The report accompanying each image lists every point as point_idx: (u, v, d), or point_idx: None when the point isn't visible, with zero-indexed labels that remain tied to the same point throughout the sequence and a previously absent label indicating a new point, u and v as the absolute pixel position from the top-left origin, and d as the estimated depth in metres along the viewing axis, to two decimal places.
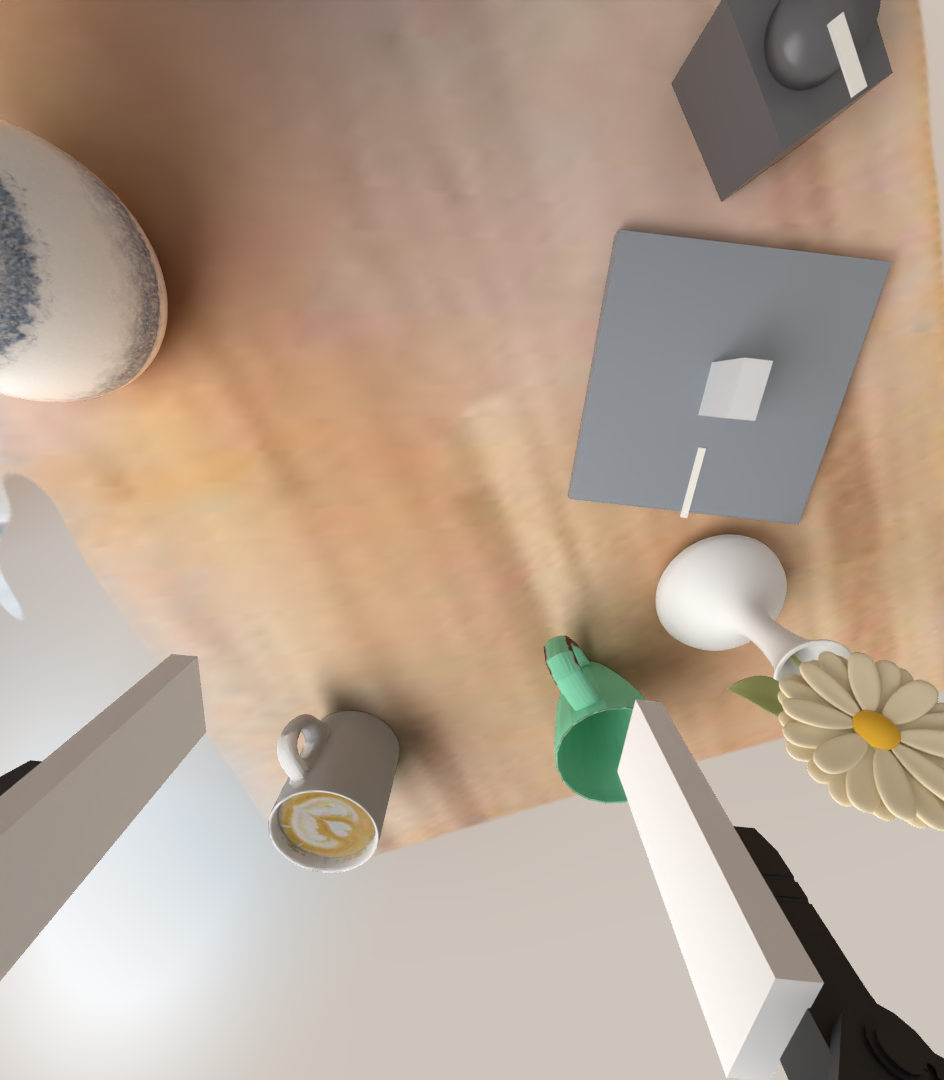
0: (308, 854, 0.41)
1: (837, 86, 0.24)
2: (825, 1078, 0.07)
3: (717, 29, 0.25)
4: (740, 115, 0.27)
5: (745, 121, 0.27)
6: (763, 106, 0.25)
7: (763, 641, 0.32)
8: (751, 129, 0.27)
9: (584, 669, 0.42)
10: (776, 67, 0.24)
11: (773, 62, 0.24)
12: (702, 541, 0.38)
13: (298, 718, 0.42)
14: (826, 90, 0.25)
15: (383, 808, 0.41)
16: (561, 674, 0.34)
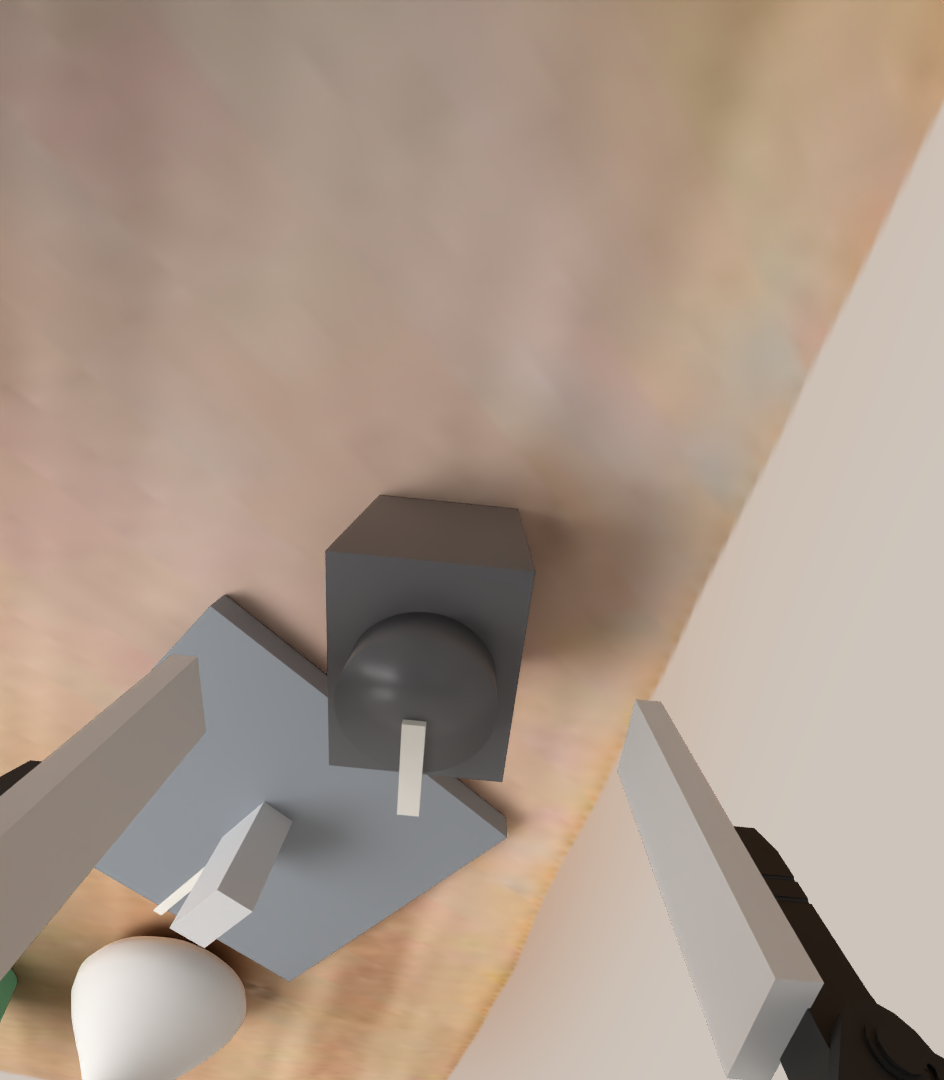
0: None
1: None
2: (825, 1078, 0.07)
3: None
4: None
5: None
6: None
7: None
8: None
9: None
10: None
11: None
12: (161, 949, 0.28)
13: None
14: None
15: None
16: None
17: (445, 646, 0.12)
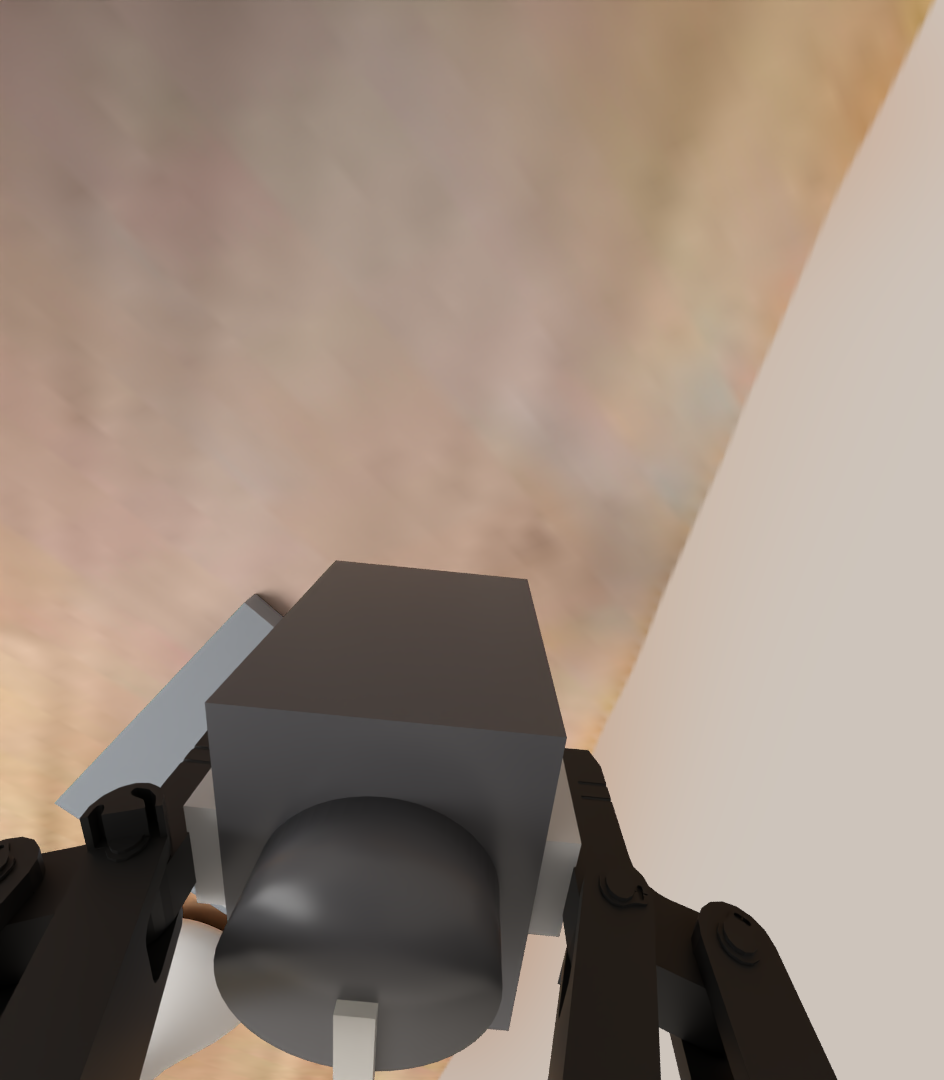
0: None
1: None
2: None
3: None
4: None
5: None
6: None
7: None
8: None
9: None
10: None
11: None
12: (181, 928, 0.30)
13: None
14: None
15: None
16: None
17: (409, 894, 0.07)
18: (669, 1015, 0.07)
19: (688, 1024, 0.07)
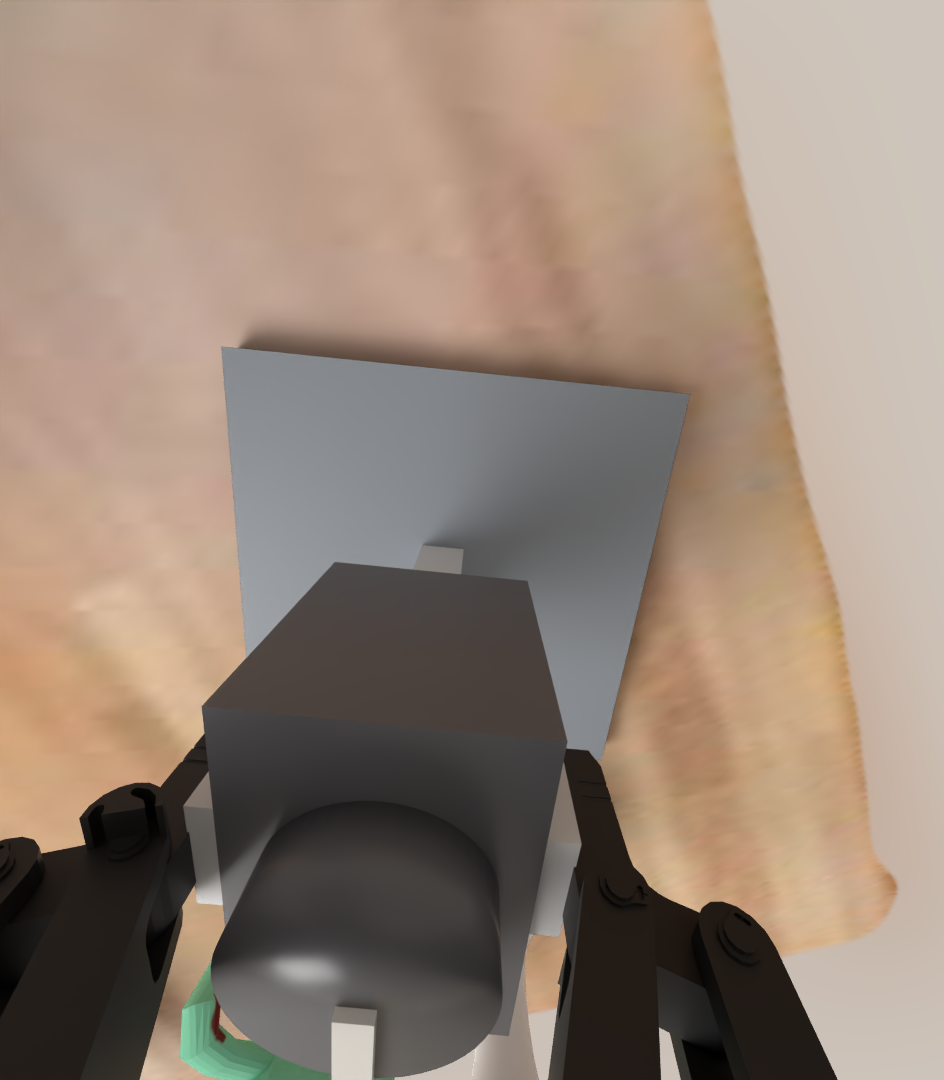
0: None
1: None
2: None
3: None
4: None
5: None
6: None
7: None
8: None
9: None
10: None
11: None
12: None
13: None
14: None
15: None
16: (186, 1049, 0.21)
17: (407, 901, 0.07)
18: (669, 1015, 0.07)
19: (688, 1024, 0.07)
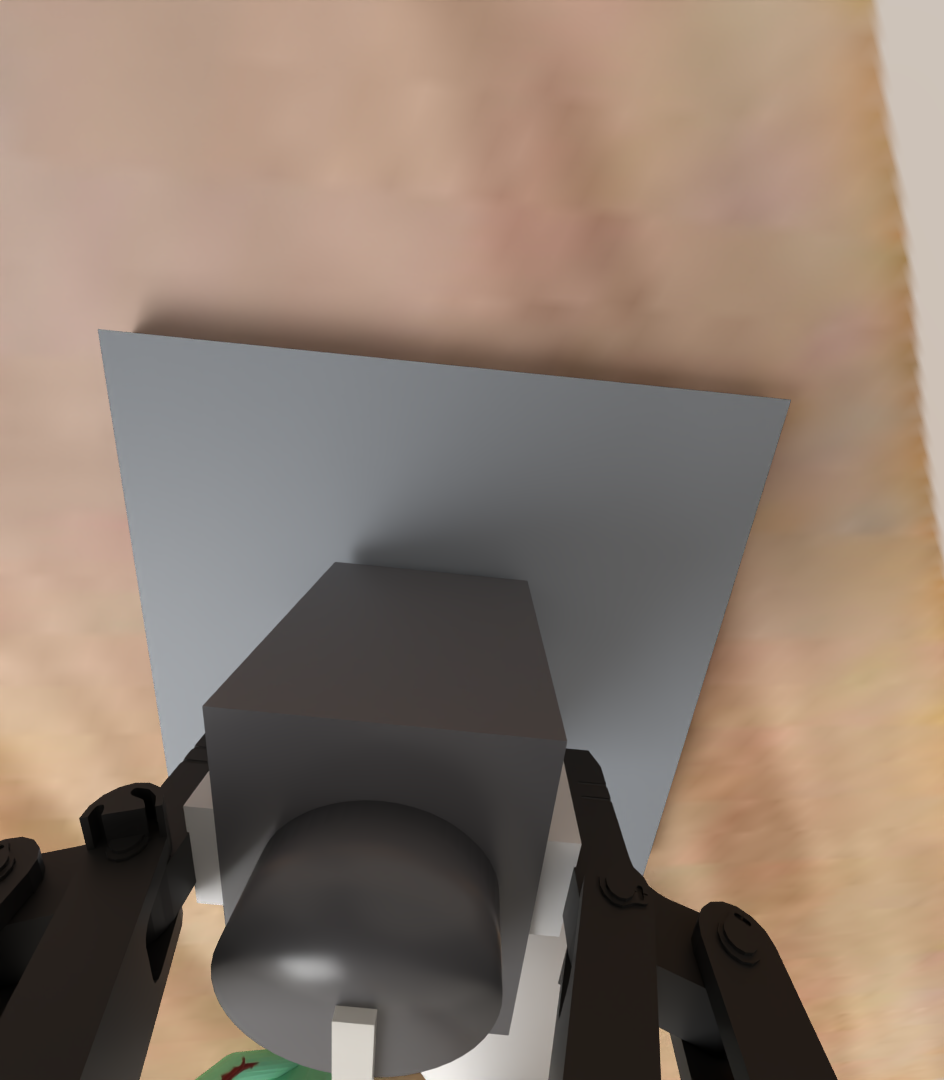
0: None
1: None
2: None
3: None
4: None
5: None
6: None
7: None
8: None
9: None
10: None
11: None
12: None
13: None
14: None
15: None
16: None
17: (407, 900, 0.07)
18: (669, 1015, 0.07)
19: (688, 1024, 0.07)
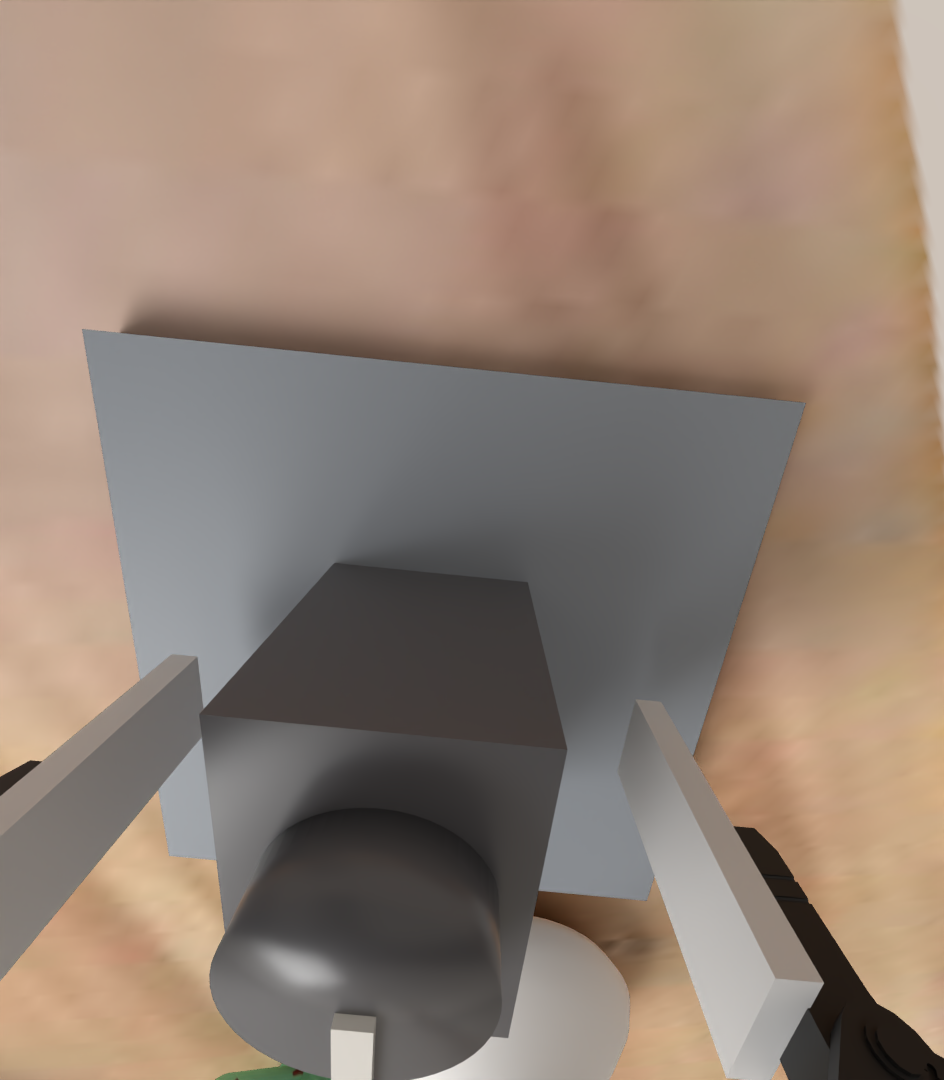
0: None
1: None
2: (825, 1078, 0.07)
3: None
4: None
5: None
6: None
7: None
8: None
9: None
10: None
11: None
12: None
13: None
14: None
15: None
16: None
17: (406, 911, 0.07)
18: None
19: None
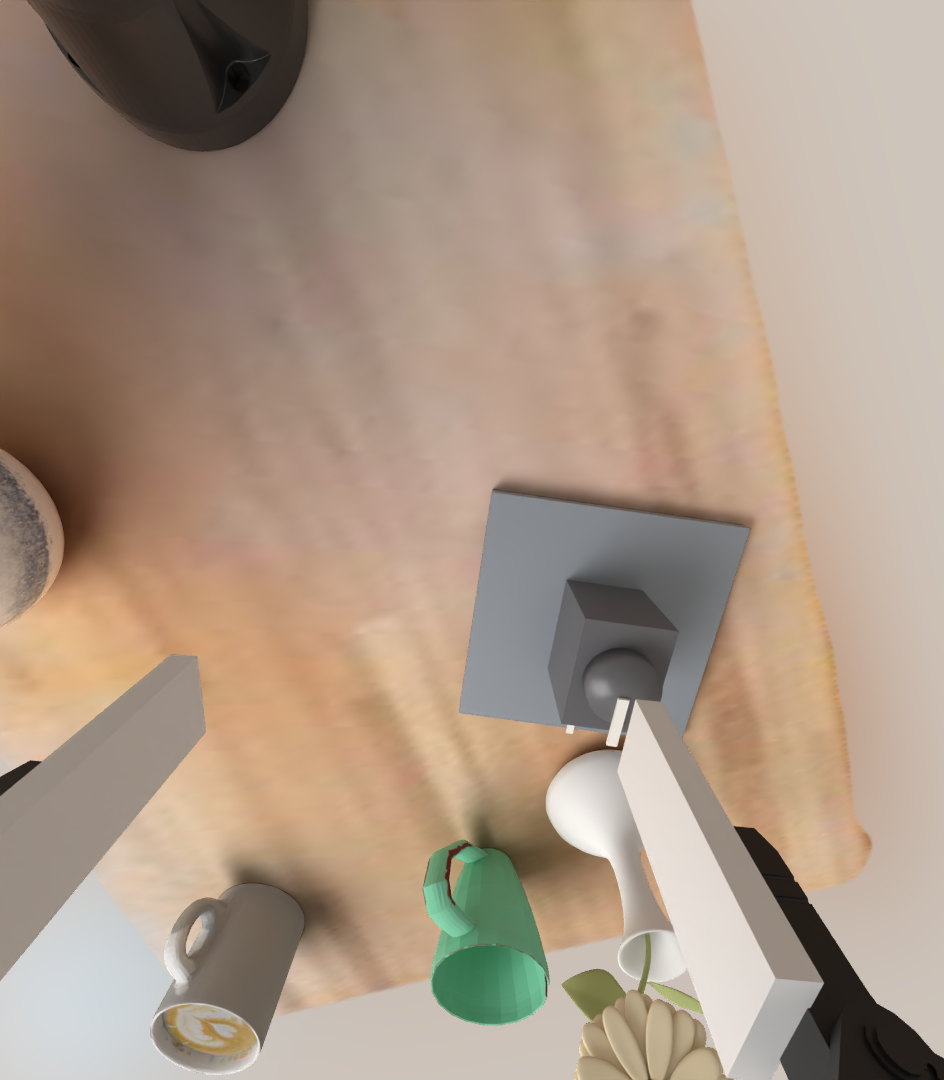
0: (194, 1052, 0.41)
1: None
2: (825, 1078, 0.07)
3: (578, 618, 0.30)
4: (564, 666, 0.32)
5: (564, 673, 0.32)
6: (567, 689, 0.30)
7: (622, 896, 0.33)
8: (562, 682, 0.32)
9: (478, 865, 0.43)
10: (583, 683, 0.29)
11: (584, 679, 0.29)
12: (587, 757, 0.39)
13: (193, 907, 0.42)
14: None
15: (270, 1007, 0.41)
16: (433, 908, 0.35)
17: (644, 664, 0.28)
18: None
19: None
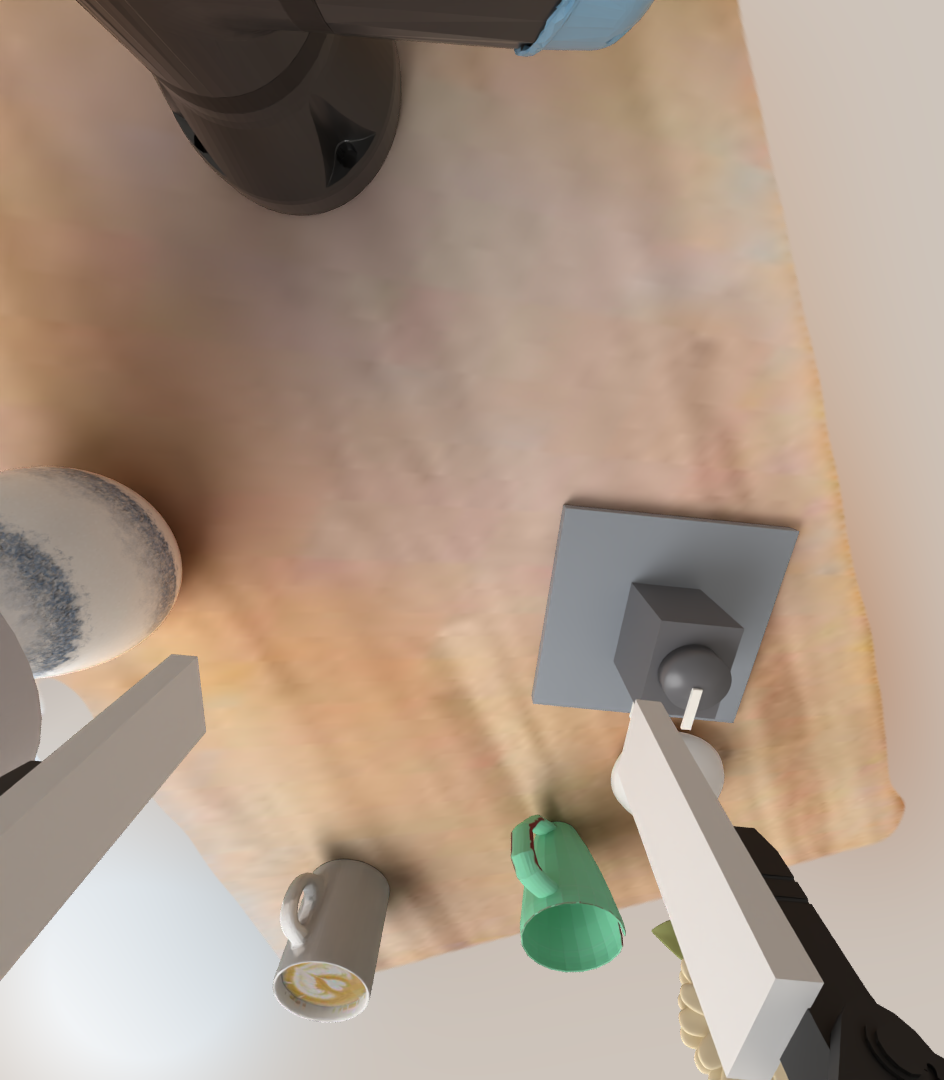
0: (308, 1004, 0.47)
1: None
2: (825, 1078, 0.07)
3: (652, 620, 0.34)
4: (637, 661, 0.36)
5: (637, 667, 0.36)
6: (644, 682, 0.35)
7: None
8: (636, 675, 0.36)
9: (550, 836, 0.48)
10: (660, 676, 0.34)
11: (660, 673, 0.33)
12: None
13: (298, 881, 0.48)
14: None
15: (373, 964, 0.46)
16: (523, 874, 0.40)
17: (716, 658, 0.32)
18: None
19: None
